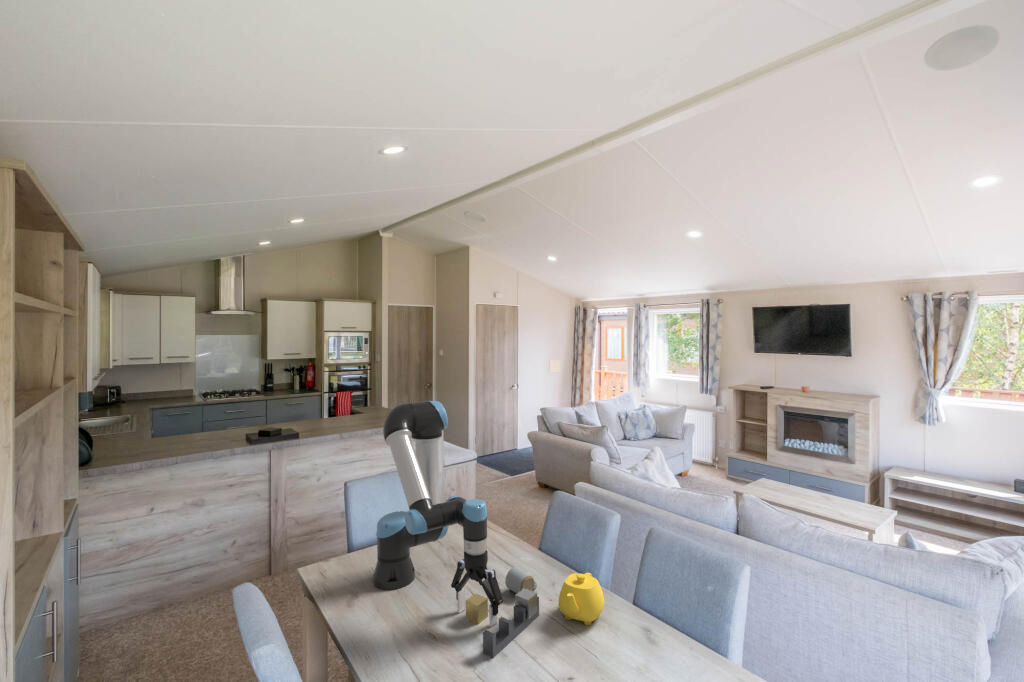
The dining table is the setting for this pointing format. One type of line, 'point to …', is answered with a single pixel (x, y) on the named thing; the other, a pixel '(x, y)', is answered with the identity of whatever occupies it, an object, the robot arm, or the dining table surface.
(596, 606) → the teapot
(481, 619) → the unfinished wooden cube
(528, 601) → the plain grey cube
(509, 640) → the rack rail
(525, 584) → the ceramic mug
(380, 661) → the dining table surface
